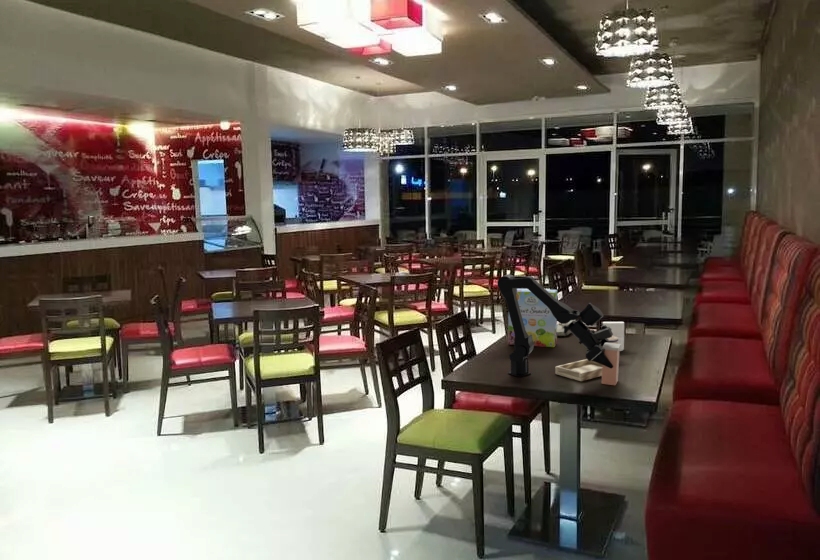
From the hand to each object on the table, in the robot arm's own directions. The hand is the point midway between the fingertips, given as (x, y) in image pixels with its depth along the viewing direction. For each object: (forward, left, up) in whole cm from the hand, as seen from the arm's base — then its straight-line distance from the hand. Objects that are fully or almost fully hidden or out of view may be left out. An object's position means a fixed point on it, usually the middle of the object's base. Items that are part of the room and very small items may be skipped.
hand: (613, 365), depth 246 cm
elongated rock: (+55, +76, -7) cm, 94 cm away
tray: (+2, +15, -7) cm, 17 cm away
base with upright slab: (+41, +34, -7) cm, 54 cm away
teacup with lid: (+26, +25, -7) cm, 37 cm away
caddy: (-1, +1, -6) cm, 7 cm away
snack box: (+20, +63, -7) cm, 67 cm away
